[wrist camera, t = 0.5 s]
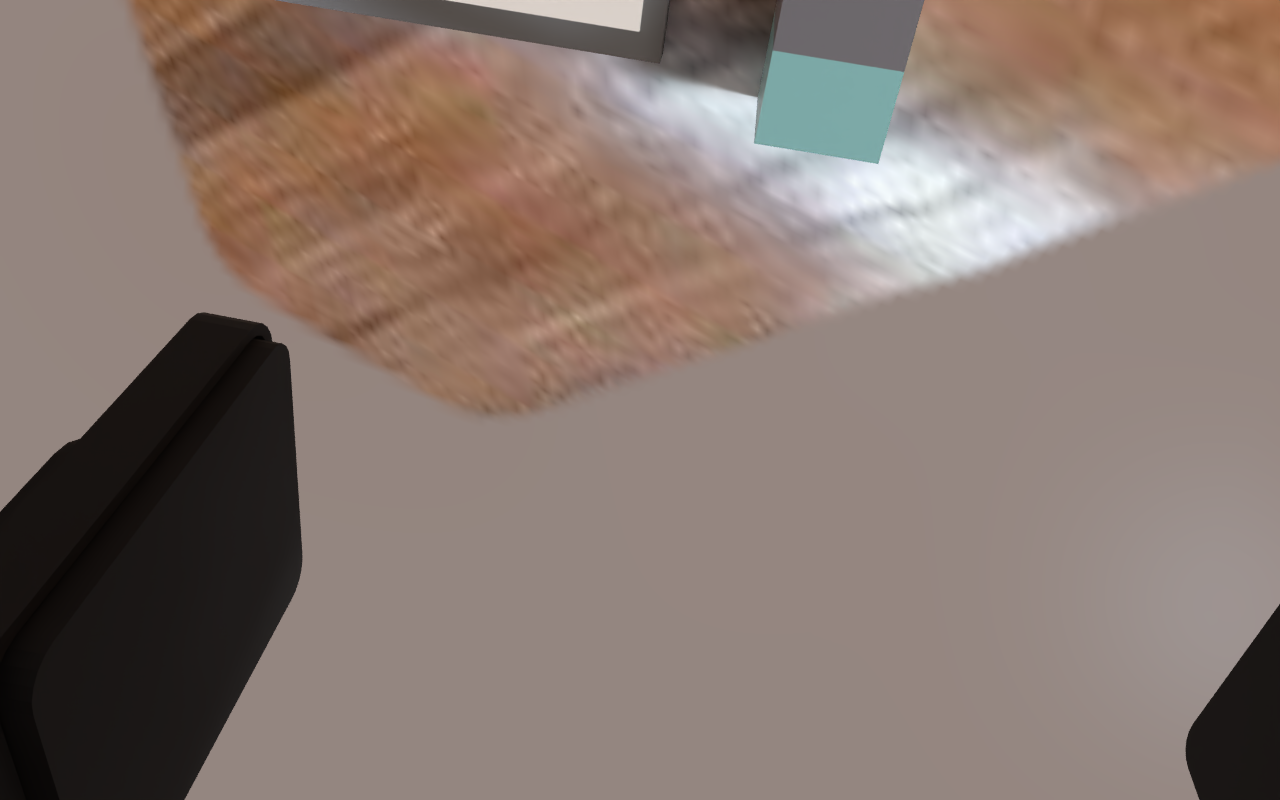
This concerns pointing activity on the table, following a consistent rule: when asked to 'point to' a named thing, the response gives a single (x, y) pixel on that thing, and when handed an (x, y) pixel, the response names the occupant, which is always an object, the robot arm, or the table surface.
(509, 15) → the drawing board
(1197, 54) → the table surface
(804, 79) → the teal-tipped grey bar
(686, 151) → the table surface
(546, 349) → the table surface
